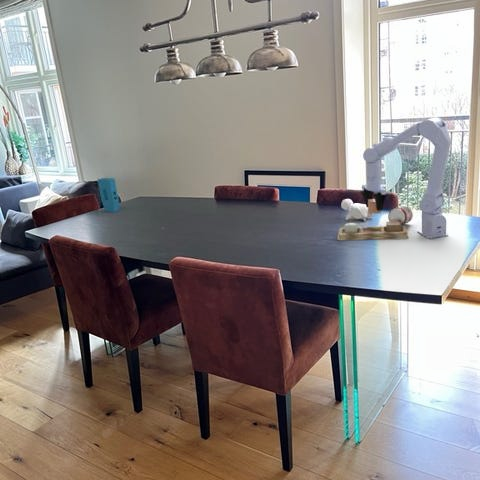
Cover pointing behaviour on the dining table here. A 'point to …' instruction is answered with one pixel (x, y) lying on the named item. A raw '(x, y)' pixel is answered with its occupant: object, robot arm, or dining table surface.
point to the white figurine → (355, 210)
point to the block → (108, 194)
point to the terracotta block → (372, 207)
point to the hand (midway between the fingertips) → (374, 208)
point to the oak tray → (372, 233)
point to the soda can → (400, 215)
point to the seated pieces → (389, 226)
